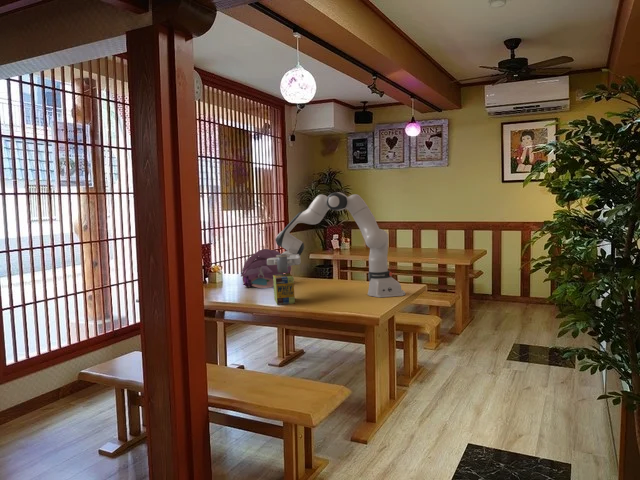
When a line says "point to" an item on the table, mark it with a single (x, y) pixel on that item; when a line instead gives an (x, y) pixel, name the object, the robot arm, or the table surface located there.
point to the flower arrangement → (260, 269)
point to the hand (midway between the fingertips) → (282, 262)
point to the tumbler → (282, 263)
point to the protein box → (283, 289)
